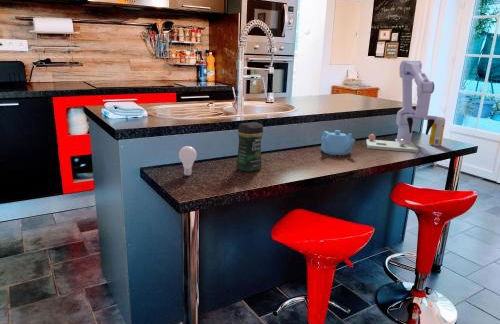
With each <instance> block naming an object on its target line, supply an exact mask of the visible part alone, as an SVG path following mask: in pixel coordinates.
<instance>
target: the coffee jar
mask: <svg viewBox="0 0 500 324" xmlns="http://www.w3.org/2000/svg"><path fill="white" fill-rule="evenodd" d="M263 134H264V125H263V124H262V123H261V122H257V121H251V122H243V123H239V124H238V129H237V135H238V136H237V137H238V146H237V147H238V148H237V149H238V151H237V158H236V164H235V165H236V166H235V167H236V169H237V170H239V171H241V172H247V173H250V172H255V171H259V170H261V169H262V139H263Z"/></svg>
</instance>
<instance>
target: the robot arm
mask: <svg viewBox="0 0 500 324" xmlns="http://www.w3.org/2000/svg"><path fill="white" fill-rule="evenodd" d="M422 67H423V63H422V61H421V60H405V59H403V60H402V61H400V64H399V77H400V78H401V80H402V81H401V82H402V89H401V90H402V96H401V97H402V99H401V100H402V104H401V105H402V108H401V109H399V110H398V111H397V113H396V117H395V118H396V119H395V123H396V125H397V126H398V129H397V136H396V138H394V141H395V142H399V140H401V139H404V140H405V141H406V142H407V143H413V142H412V136H413V129H414V128H415V127H416V125H417V124H418V121H419V120H426V121H427V122H426V130H425V135H426V136H428V134H429V132H430V131H431V127H432V125H433V124H434V122H435V121H437V117H438V116H437V115H428V114H429V110H430V101H431V97H432V94H433V93H434V91H435V83H434V81H431V80H429V78H428V76H427V74H425V72H424V73H423V72H422ZM413 80H414V83H415V84H416V97H417V99H416V105H415V109H414V108H413Z"/></svg>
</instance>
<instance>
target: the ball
mask: <svg viewBox="0 0 500 324" xmlns="http://www.w3.org/2000/svg"><path fill="white" fill-rule="evenodd" d="M368 139H369V140H371V141H373V140H376V134H374V133H370V134H369V135H368Z"/></svg>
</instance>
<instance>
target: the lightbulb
mask: <svg viewBox="0 0 500 324" xmlns="http://www.w3.org/2000/svg"><path fill="white" fill-rule="evenodd" d="M197 154H198V153H197V150H196V149H195V148H194V147H193V146H189V145H185V146H183V147H181V148H180V150H179V152H178V158H179V160H180V162H181V163H182V165H183V166H182V167H183V173H184V174H183V175H185V176H186V177H187V176H191V175H192V168H193V165H194V162H195V161H196V159H197V156H198V155H197Z"/></svg>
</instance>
